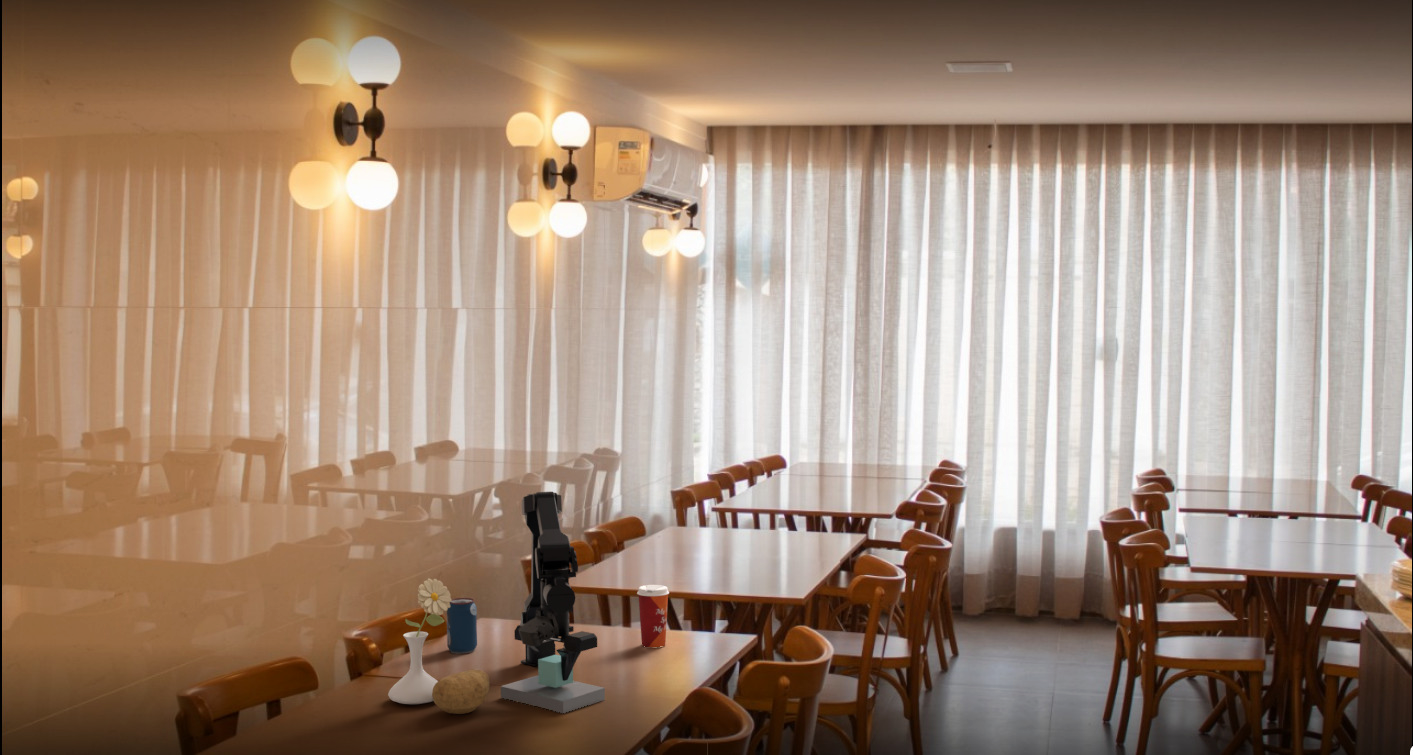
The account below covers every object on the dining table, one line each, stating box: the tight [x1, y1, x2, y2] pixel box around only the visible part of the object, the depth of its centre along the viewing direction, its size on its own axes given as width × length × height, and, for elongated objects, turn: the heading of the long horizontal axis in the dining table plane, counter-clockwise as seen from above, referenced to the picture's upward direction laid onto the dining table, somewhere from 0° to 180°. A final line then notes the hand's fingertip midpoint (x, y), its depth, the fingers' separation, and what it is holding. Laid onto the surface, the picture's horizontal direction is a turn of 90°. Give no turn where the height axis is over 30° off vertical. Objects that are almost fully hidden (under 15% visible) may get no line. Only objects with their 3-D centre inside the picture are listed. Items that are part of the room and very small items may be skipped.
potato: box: [432, 668, 491, 715], centre depth 263 cm, size 10×14×8 cm
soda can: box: [446, 597, 478, 655], centre depth 312 cm, size 7×7×12 cm
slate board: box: [500, 674, 606, 714], centre depth 271 cm, size 18×12×2 cm, turn 52°
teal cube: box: [537, 654, 574, 688], centre depth 270 cm, size 5×5×5 cm
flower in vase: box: [387, 578, 452, 705], centre depth 270 cm, size 13×11×25 cm
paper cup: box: [636, 584, 670, 648], centre depth 316 cm, size 8×8×14 cm
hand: (555, 678), depth 270 cm, fingers closed on teal cube, 5 cm apart
